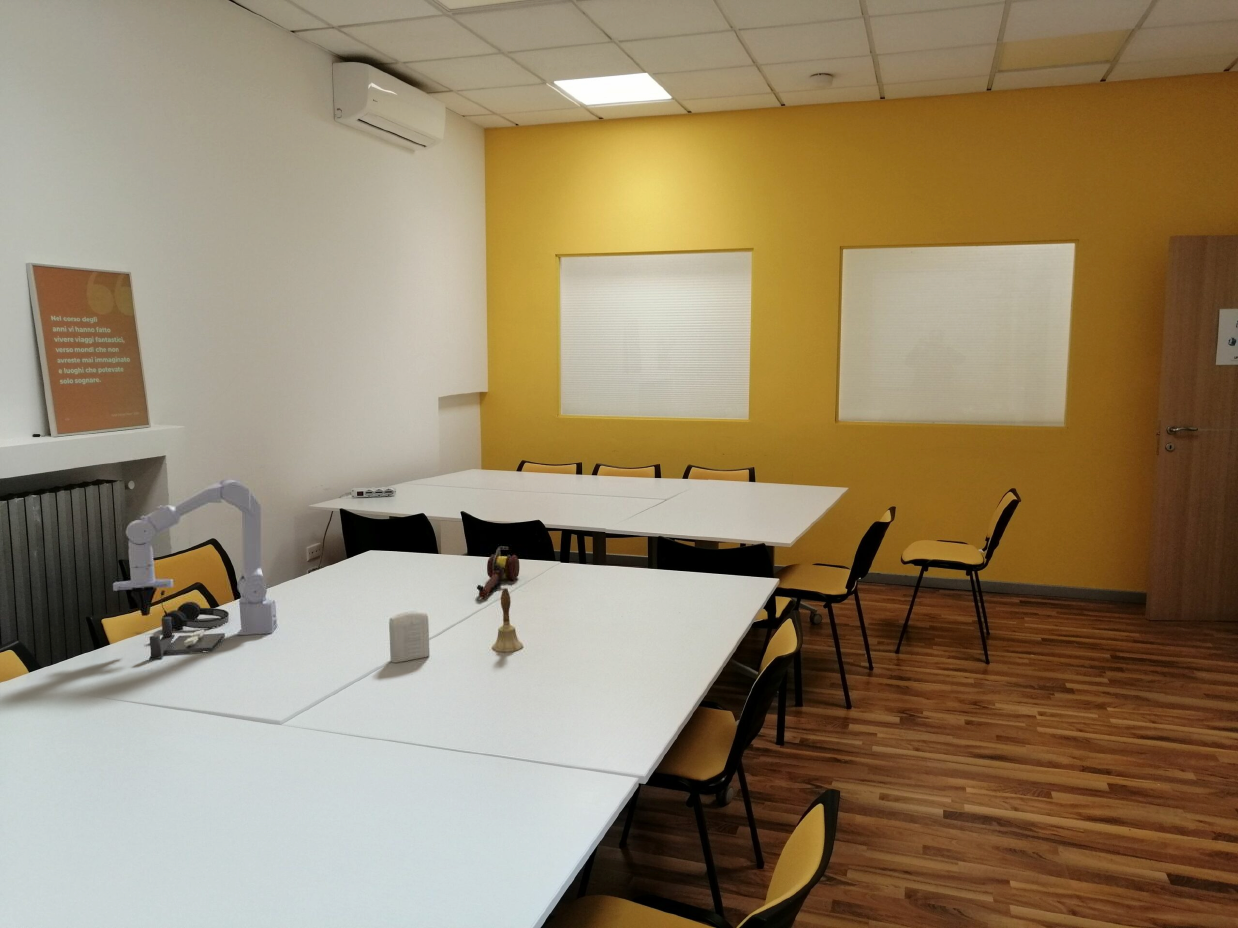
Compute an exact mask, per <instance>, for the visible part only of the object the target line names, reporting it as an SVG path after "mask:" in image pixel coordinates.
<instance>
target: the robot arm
mask: <svg viewBox="0 0 1238 928" xmlns="http://www.w3.org/2000/svg"><path fill="white" fill-rule="evenodd" d="M222 500H223V501H224V502H226V503H227V504H229V505H232V506H234V507H235V508H237V509H238V510H239V511H240V512H241V513H242V515H241V517H242V518H241V520H242V521H241V525H242V527H241V528H242V530H241V532H242V534H241V536H242V539H241V540H242V544H241V546H242V552H241V553H242V554H241V555H242V557H241V558H242V560H241V561H242V567H241V570H240V578H239V580H238V582H237V587H236V589H237V590H238V592H239V593H240V594H241V596H240V598H239V601H238V603H239V615H240V616H239V617H240V630H239V631H238V632H237V633H236V635H237V636H245V635H246V636H247V635H248V636H250V635H263V634H265V635H266V634H272V633H274V630H276V628H277V627H278V621H277V620H278V619H277V607H276V602H275V601H276V600H275V599H268V598H267V592H268V591H267V590H268V589H267V586H266V583H265V582H264V575H263V570H262V518H261V517H262V507H261V504H260V503H259V501H258V500H257V498H256V497H255V496H254V495H253V493H252V491H251V490H250V488H248V487H247V486H245V485H244V484H243V483H241V482H239V481H237V480H235V479H233V478H225V479H222V480H221V481H220V482H215V483H213V484H210V485H209V486H207V487H206V488H204V489H202V490H199V491H198V492H196V493H195V494H193V495H192V496H190V497H188V498H186V499H185V500H183V501H181V502H179V503H177V504H176V505H174V506H173V505H168V504H166V505H164V506H163V505H162V504H161V505H159V506H157V507H156V508H157V510H155V511H153V512H151V513H149V514H147V515H143V514H142V516H140V519H136V520H133V521H131V522H130V523H129V524H128V525H127V527H126V529H125V535H126V537H127V538H128V545H127V546H128V560H129V561H128V562H129V569H130V570H129V573H130V580H125V581H115V582H114V583H112V589H113V592H114V591H115V592H116V591H120V590H121V591H122V590H123V591H124V590H131V591H130V596H132V598H133V599H134V601H135V602H136V604H137V606H138V608H139V611H140V614H141V616H142V617H144V616H146V617H147V616H149V615H150V613H151V606H152V601H153V600H154V596H155V594H156V592H157V590H158V589H161V588H167V589H171V588H173V587H174V579H173V578H167V579H166V578H165V579H164V578H156V575H155V563H154V550H153V547H152V538H153V536H156V535H157V536H158V535H159V534H161V533H163V532H164V531H167V530H169V529H170V528H172V527H174V526H176V525H177V524H179V522H180V519H181V518H182V517H183V516H184V515H187V514H188V513H190V512H193V511H195V510H197V509H198V508H201V507H202V506H203V507H204V506H205V505H206V504H209V503H210V504H211V503H214V504H221V503H222Z"/></svg>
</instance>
